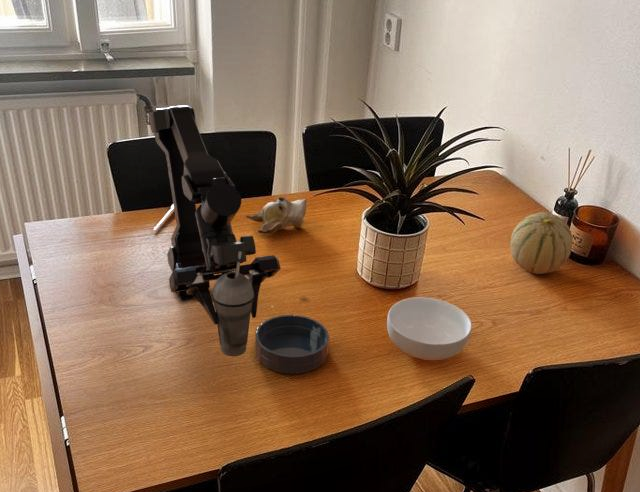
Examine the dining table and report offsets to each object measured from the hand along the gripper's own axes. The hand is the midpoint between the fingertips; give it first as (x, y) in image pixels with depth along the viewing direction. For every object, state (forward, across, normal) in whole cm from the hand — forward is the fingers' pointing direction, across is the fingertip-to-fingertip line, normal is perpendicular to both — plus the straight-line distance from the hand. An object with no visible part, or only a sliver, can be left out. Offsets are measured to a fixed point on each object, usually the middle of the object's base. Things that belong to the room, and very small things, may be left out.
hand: (235, 320), depth 122 cm
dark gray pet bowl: (+6, +13, +12) cm, 19 cm away
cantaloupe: (-3, +82, +22) cm, 85 cm away
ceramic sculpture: (-30, +29, +50) cm, 65 cm away
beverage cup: (+4, 0, +6) cm, 7 cm away
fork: (-40, +4, +60) cm, 72 cm away
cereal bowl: (+11, +39, +8) cm, 41 cm away
